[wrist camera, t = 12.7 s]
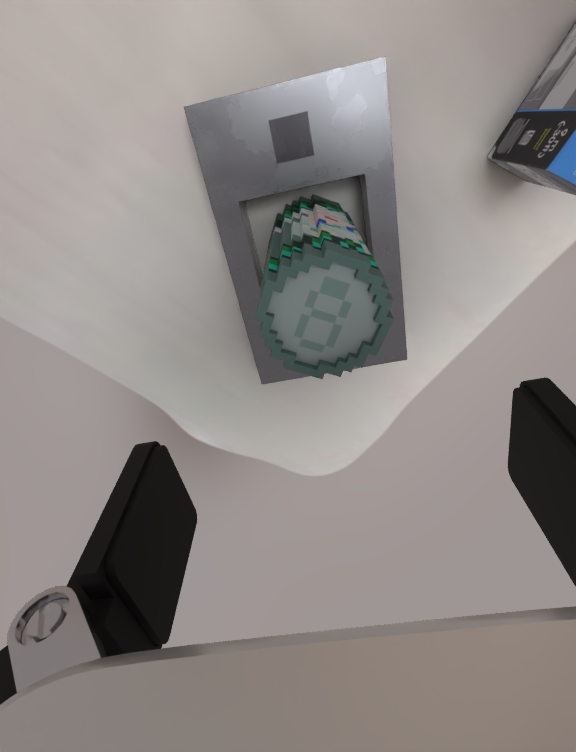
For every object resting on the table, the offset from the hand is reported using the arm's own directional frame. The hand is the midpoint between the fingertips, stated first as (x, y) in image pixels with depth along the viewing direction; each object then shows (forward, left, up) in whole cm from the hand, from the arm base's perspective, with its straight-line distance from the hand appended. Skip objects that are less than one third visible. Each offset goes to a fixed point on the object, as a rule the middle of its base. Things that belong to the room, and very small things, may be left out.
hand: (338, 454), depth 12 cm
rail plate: (0, 0, -24) cm, 24 cm away
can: (0, 0, -25) cm, 25 cm away
